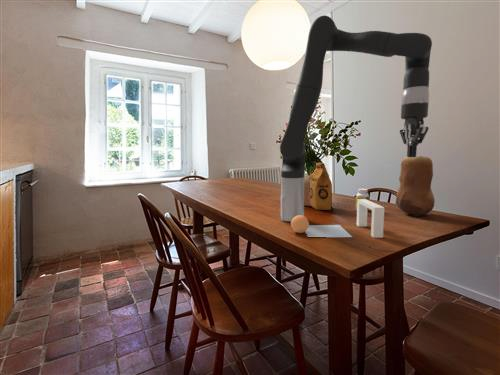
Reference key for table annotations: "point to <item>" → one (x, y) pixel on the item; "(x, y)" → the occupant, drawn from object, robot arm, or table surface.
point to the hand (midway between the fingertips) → (411, 157)
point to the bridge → (377, 217)
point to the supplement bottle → (362, 195)
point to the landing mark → (326, 231)
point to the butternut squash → (416, 186)
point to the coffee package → (320, 188)
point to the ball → (299, 224)
